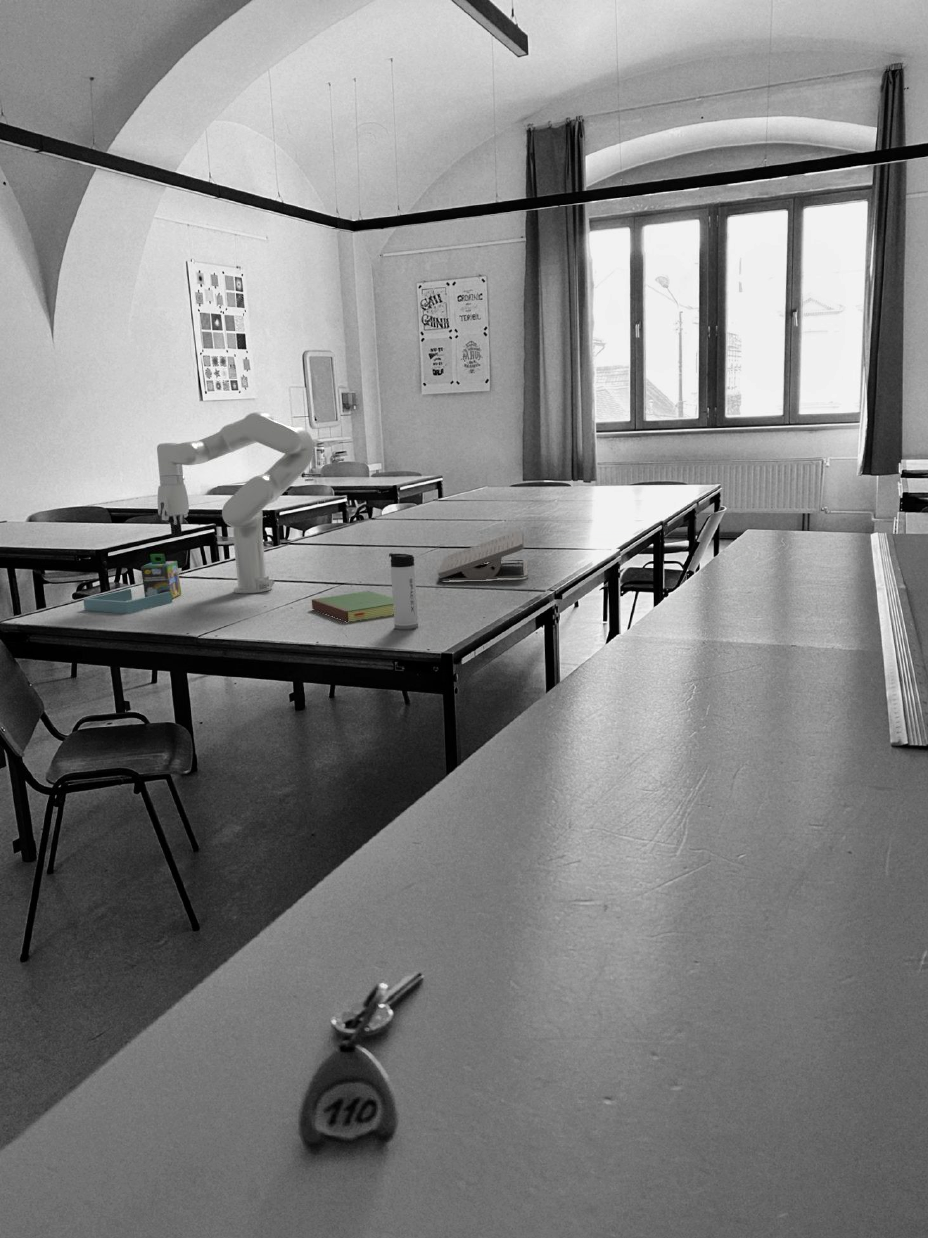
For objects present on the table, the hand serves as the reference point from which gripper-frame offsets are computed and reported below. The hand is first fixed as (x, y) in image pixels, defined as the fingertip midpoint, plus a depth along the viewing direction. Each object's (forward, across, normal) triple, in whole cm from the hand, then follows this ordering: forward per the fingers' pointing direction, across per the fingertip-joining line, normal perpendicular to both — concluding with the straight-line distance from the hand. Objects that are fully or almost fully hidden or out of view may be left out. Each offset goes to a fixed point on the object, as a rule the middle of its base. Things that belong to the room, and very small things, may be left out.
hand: (176, 536), depth 330 cm
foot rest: (+18, -61, +84) cm, 105 cm away
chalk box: (+20, +9, +1) cm, 22 cm away
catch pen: (+19, +23, +1) cm, 30 cm away
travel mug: (+18, +23, +105) cm, 109 cm away
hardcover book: (+19, +9, +80) cm, 82 cm away
